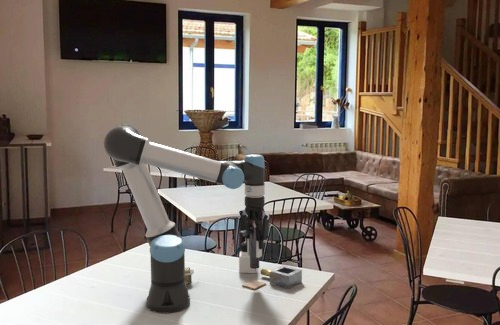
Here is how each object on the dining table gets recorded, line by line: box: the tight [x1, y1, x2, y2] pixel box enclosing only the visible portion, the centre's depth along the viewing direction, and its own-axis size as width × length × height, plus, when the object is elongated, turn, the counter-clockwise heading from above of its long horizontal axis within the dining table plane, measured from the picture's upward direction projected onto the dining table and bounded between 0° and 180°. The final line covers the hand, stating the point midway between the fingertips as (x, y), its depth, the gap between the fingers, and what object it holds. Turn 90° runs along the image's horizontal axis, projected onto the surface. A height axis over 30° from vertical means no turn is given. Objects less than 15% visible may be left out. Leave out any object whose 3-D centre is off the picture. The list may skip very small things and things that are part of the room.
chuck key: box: [239, 224, 260, 270], centre depth 191 cm, size 10×4×16 cm, turn 142°
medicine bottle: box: [238, 241, 257, 274], centre depth 212 cm, size 7×7×12 cm
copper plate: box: [241, 279, 267, 291], centre depth 196 cm, size 7×6×1 cm
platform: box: [185, 266, 195, 285], centre depth 197 cm, size 12×18×7 cm, turn 109°
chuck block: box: [260, 264, 303, 290], centre depth 200 cm, size 9×16×5 cm, turn 52°
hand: (254, 255), depth 194 cm, fingers closed on chuck key, 3 cm apart
